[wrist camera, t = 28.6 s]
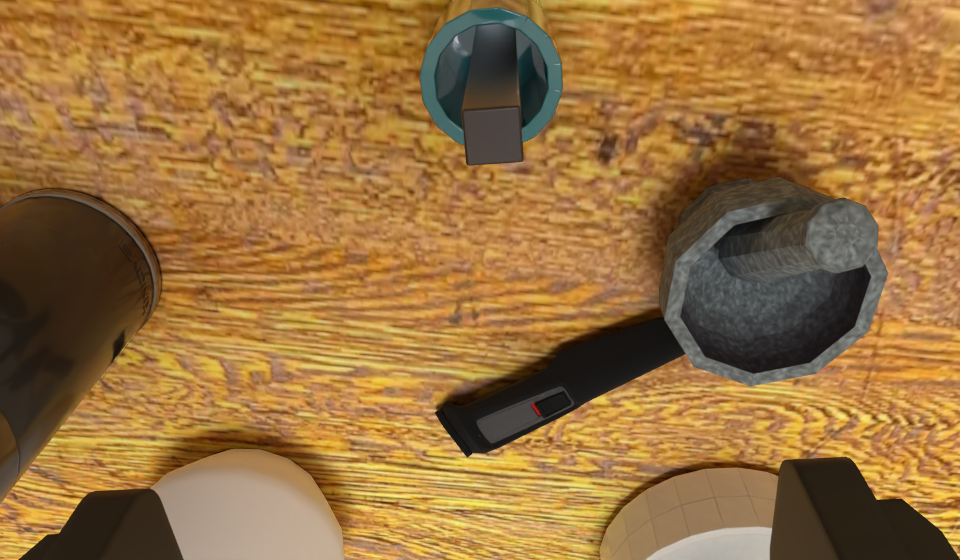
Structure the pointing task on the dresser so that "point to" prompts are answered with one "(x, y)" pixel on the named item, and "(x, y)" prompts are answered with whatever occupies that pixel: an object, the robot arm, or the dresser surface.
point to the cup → (249, 509)
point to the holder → (451, 57)
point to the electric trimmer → (560, 386)
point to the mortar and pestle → (770, 279)
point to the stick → (493, 99)
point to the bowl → (697, 518)
